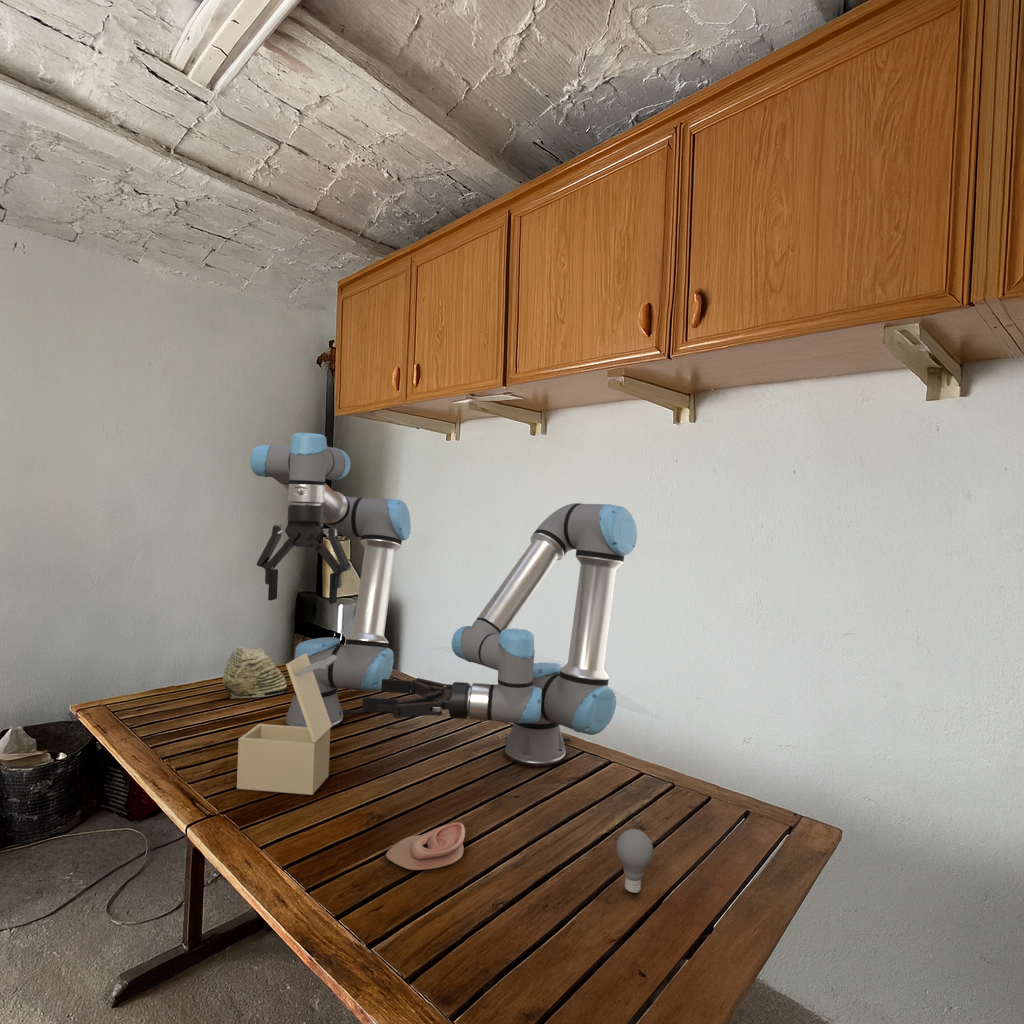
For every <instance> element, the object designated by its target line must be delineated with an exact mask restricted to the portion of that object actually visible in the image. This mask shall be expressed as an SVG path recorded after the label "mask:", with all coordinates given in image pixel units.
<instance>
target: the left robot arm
mask: <svg viewBox="0 0 1024 1024" xmlns="http://www.w3.org/2000/svg"><path fill="white" fill-rule="evenodd" d="M327 442H328V441H327V437H326V436H325V435H323V434H320V433H311V432H296V433H295V432H294V433H293V434H292V435H291V438H290V445H280V444H263V445H262V444H261V445H257V446H255V447H254V448H253V450H251V455H250V459H249V464H250V465H249V466H250V468H251V471H252V473H253V474H254V475H256V476H257V477H264V478H272V479H274V480H275V481H277V483H279V484H280V485H282V486H283V488H285V489H287V491H288V496H287V498H288V500H287V501H288V502H289V503H290V504H289V505H288V506H287V525H286V526H284V525H282V524H275V525H273V526H272V530H271V536H270V537H269V539H268V540H267V543H266V545H265V547H264V548H263V550H262V552H261V554H260V556H259V558H258V560H257V562H256V566H257V567H260V568H261V569H264V583H265V585H268V589H267V590H268V591H267V592H268V593H267V600H268V601H274V600H277V599H278V586H279V585H278V584H279V583H278V582H279V569H278V568H276V567H277V565H279V564H280V562H281V561H282V560H283V559H284V558H285V557H286V556H287V554H288V553H289V552H290V551H291V550H292V549H293V548H294V547H295V548H301V547H304V548H314V550H316V551H317V552H318V553H319V555H320V556H321V558H322V559H323V560H324V561H325V562H326V564H327V565H328V567H329V568H330V569H331V571H332V573H329V589H328V590H329V591H328V592H329V593H328V604H329V605H333V604H335V603H337V602H338V589H340V588H342V580H343V573H345V572H347V571H350V570H351V569H352V566H351V564H350V561H349V559H348V557H347V555H346V552H345V550H344V547H343V546H342V543H341V540H340V539H339V533H340V534H342V535H345V536H349V537H352V538H360V544H361V546H362V547H363V548H364V553H363V559H362V564H361V565H362V566H361V572H360V580H359V587H358V592H357V593H358V594H357V601H356V606H355V607H356V608H355V615H354V622H353V628H352V632H351V634H350V635H348V636H347V637H346V638H345V644H341V641H340V639H339V638H338V637H334V636H331V637H330V636H329V637H328V636H327V637H318V638H313V639H307V640H304V641H302V642H299V643H298V644H297V645H296V647H295V652H294V653H295V654H294V659H296V658H298V657H299V656H301V655H303V654H305V653H307V656H308V658H309V661H310V664H314V663H317V662H320V661H323V660H325V659H327V658H328V657H330V656H331V655H336V657H337V660H336V661H335V662H334V663H332V664H331V665H329V666H328V667H327V668H325V669H321V668H319V669H316V670H313V673H314V676H315V679H316V682H317V684H318V687H319V690H320V693H321V696H322V699H323V702H324V705H325V708H326V710H327V713H328V716H329V719H330V722H331V725H332V727H331V728H330V730H332V729H335V728H337V727H339V726H340V725H342V723H343V722H344V715H352V714H353V715H355V714H357V715H358V714H365V713H367V712H365V711H362V709H359V710H358V709H356V710H353V709H350V710H343V709H342V706H341V702H340V699H339V695H338V689H342V690H343V689H344V690H351V691H353V690H354V691H362V692H379V691H381V684H382V679H390V677H391V675H392V671H393V668H394V662H395V659H394V656H395V655H394V651H393V650H392V649H391V648H389V642H390V641H388V640H387V637H385V630H386V624H387V623H386V622H387V615H388V609H389V608H388V607H389V601H390V592H391V586H392V579H393V578H392V577H393V570H394V563H395V556H396V555H395V554H396V552H397V551H398V550H399V549H400V548H402V542H403V541H406V540H408V539H409V537H410V534H411V529H412V527H411V526H412V523H411V515H410V510H409V508H408V505H407V503H406V502H404V501H403V500H401V499H395V498H372V497H356V496H345V495H344V494H343V493H341V492H339V491H334V490H333V488H331V487H330V486H329V485H328V484H327V483H326V480H329V481H336V480H341V479H344V478H345V477H346V476H347V475H348V474H349V472H350V470H351V466H352V463H351V462H352V461H351V458H350V456H349V455H348V454H347V452H346V451H344V450H342V449H340V448H338V447H331V446H328V444H327ZM324 525H325V526H327V527H329V528H325V527H324ZM284 534H286V535H287V537H288V538H287V539H286V540H285V542H283V545H282V546H281V547H280V548H279V549H278V550H277V552H276V553H274V552H275V549H276V548H277V546H278V544H279V542H280V540H281V538H282V536H284ZM324 536H326V538H328V539H329V543H330V545H331V548H332V550H333V552H334V554H335V556H336V557H334V555H333V553H331V551H330V550H329V549H328V547H327V546H326V544H325V542H324V541H323V537H324ZM273 553H274V555H273ZM292 696H293V697H292V699H291V702H290V704H289V708H288V711H287V713H286V715H285V726H297V727H307V724H306V721H305V719H304V716H303V713H302V710H301V707H300V704H299V701H298V698H297V695H296V693H295V690H294V689H293V695H292Z"/></svg>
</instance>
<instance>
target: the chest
mask: <svg viewBox="0 0 1024 1024" xmlns="http://www.w3.org/2000/svg"><path fill="white" fill-rule="evenodd" d="M237 744H238V747H237V768H236V769H237V770H236V771H237V772H236V773H237V775H236V789H237V790H248V791H258V792H259V791H261V792H272V793H284V794H285V793H286V794H296V795H297V794H298V795H309V796H312V795H314V794H315V792H316V791H317V790H318V789H319V788H320V787H321V786H322V785H323V783H324V782H325V781H326V779H328V778H329V774H330V745H331V729H329V730H328V731H327V732H326V733H324V734H323V735H322V736H321V737H320V738H319V739H318V740H317V741H316V742H312V739H311V736H310V733H309V730H308V727H297V726H286V725H281V724H268V723H258V724H257V725H255V726H254V727H252V728H251V729H250V730H248V731H247V732H246V733H244V734H243V735H241V736H240V737H239V738H238V743H237Z"/></svg>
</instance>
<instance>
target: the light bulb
mask: <svg viewBox="0 0 1024 1024" xmlns="http://www.w3.org/2000/svg"><path fill="white" fill-rule="evenodd" d="M615 849H616V854H617V857H618V859H619V861H620V863H621V865H622V867H623V873H624V874H623V875H624V876H625V878H624V888H625V890H627V891H628V892H630V893H634V894H635V893H639V892H640V891H641V889H642V887H641V886H642V879H643V877H644V875H645V871H646V868H647V867H648V866H649V864H650V863H651V861H652V859H653V855H654V847H653V843H652V841H651V838H649V836H648V835H647V834H646V833H645V832H643V831H642V830H641V829H636V828H629V829H627V830H625V831H623V832H622V833H621V834H620V835H619V837H618V839H617V841H616V847H615Z"/></svg>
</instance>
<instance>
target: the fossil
mask: <svg viewBox="0 0 1024 1024" xmlns="http://www.w3.org/2000/svg"><path fill="white" fill-rule="evenodd" d="M222 676H223V677H222V685H223V687H224V688H225V690H226V691H228V693H229V698H230V699H250V698H264V697H271V696H275V695H281V694H284V693H285V691H286V689H287V687H288V686H287V680H286V678H285V676H284V674H283V673H282V672H281V669H279V668H278V667H277V665H276V663H275V662H274V660H273V659H272V658H271V657H270V656H269V655H268V654H267V653H266V652H265V650H264V649H263V648H260V647H258V648H251V647H247V646H246V647H245V646H238V647H237V648H236V649H235V650H233V651H232V653H231V656H230V657H229V659H228V660H227V663H226V666H225V668H224V671H223V675H222Z"/></svg>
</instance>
